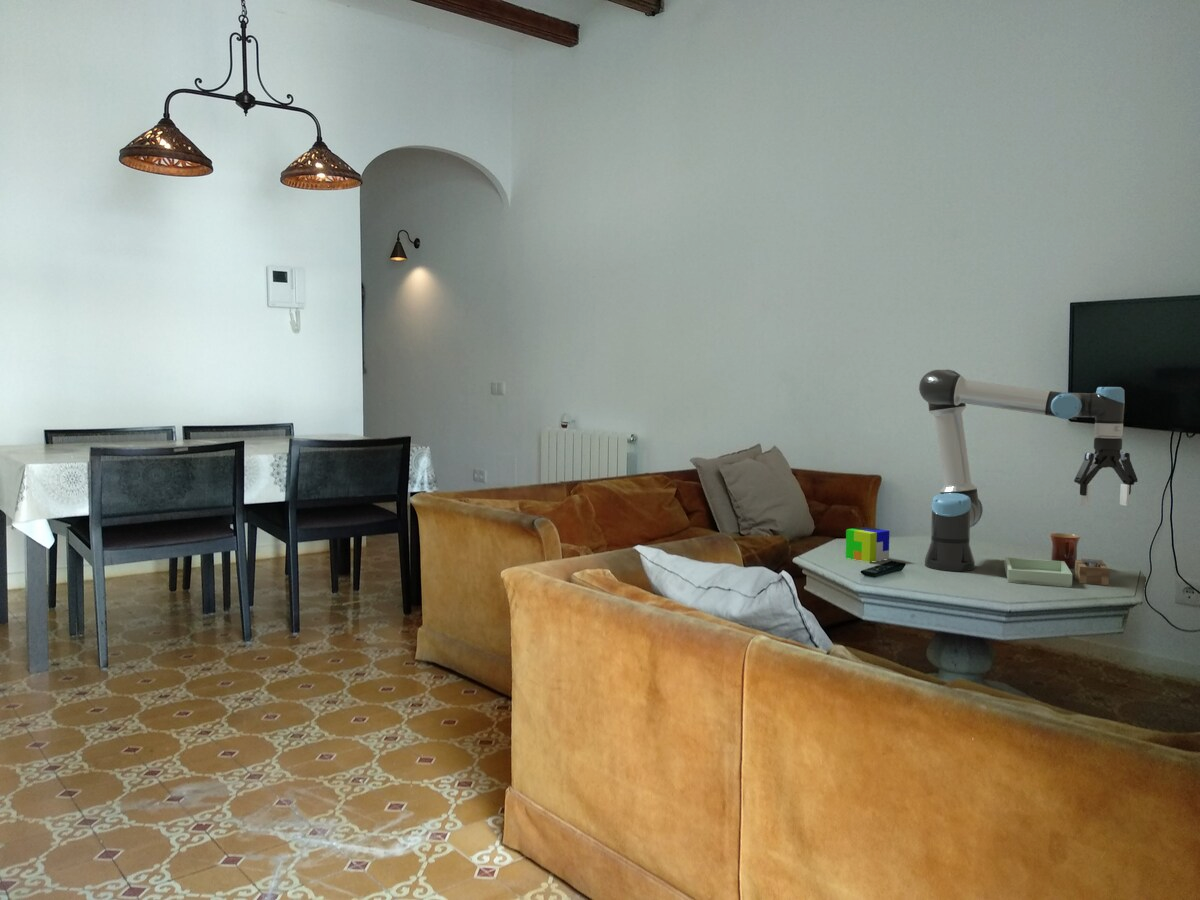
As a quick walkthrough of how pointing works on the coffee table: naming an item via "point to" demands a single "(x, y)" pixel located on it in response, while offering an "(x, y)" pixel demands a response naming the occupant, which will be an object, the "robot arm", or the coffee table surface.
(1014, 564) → the tray
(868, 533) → the puzzle toy
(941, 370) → the robot arm
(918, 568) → the coffee table surface
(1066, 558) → the mug
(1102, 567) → the light brown wooden box
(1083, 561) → the stake
